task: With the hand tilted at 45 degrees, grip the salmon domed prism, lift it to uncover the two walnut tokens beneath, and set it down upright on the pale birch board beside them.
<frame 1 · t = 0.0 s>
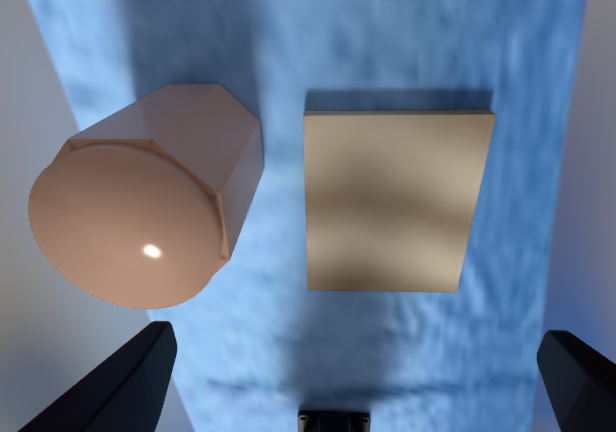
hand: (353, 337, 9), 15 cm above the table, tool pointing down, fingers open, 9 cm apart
salmon domed prism: (203, 145, 23), on the table
birch board: (386, 206, 24), on the table
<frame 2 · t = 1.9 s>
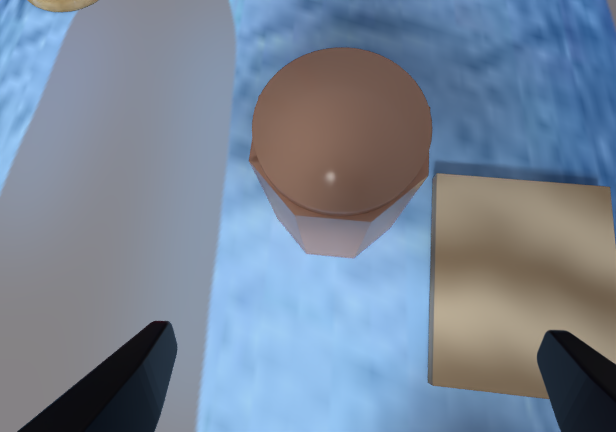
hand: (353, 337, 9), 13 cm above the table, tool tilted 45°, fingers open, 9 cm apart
salmon domed prism: (335, 201, 24), on the table
birch board: (517, 282, 23), on the table
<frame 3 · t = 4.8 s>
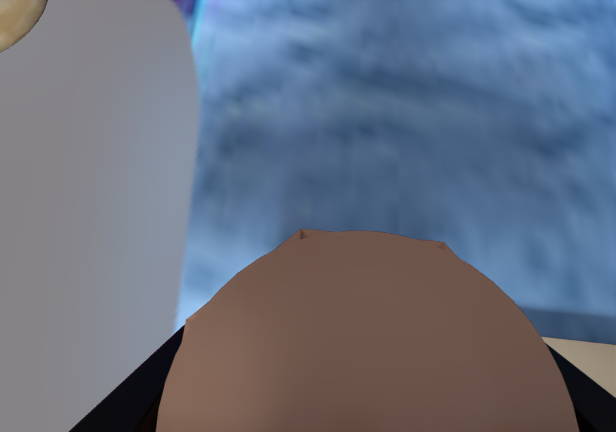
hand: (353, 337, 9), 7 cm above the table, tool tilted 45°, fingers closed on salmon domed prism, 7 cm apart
salmon domed prism: (341, 365, 16), on the table, touching gripper
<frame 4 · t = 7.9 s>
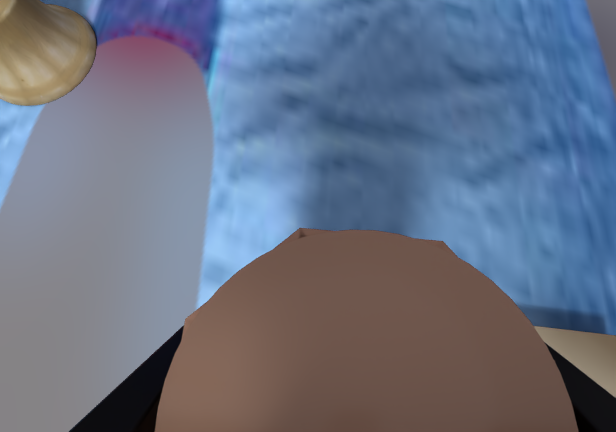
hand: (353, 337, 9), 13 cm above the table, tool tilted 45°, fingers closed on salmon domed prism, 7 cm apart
salmon domed prism: (341, 365, 16), point 6 cm above the table, touching gripper
hand bell: (43, 57, 28), on the table
when the fingers open (9 cm above the table, at t = 10.9 s): salmon domed prism drops 1 cm, resting on birch board.
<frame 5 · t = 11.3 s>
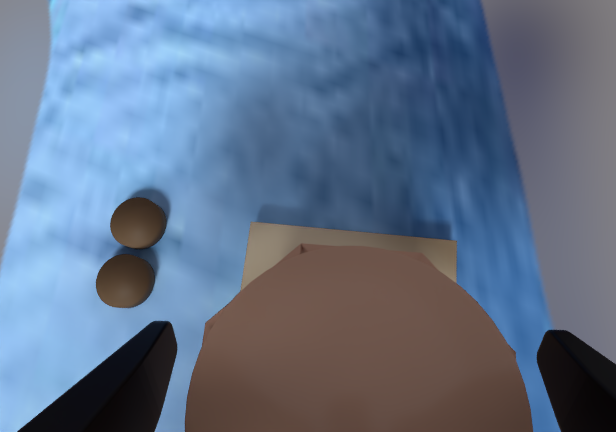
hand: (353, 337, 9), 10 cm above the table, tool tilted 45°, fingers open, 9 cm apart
salmon domed prism: (339, 361, 17), point 1 cm above the table, touching birch board
birch board: (340, 359, 18), on the table
walnut token B: (144, 226, 21), on the table
walnut token A: (131, 282, 20), on the table
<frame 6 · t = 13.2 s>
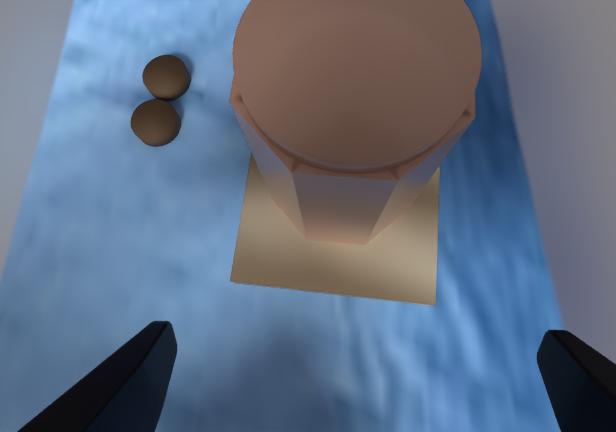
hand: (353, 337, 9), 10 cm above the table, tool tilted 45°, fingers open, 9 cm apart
salmon domed prism: (341, 177, 20), point 1 cm above the table, touching birch board
birch board: (341, 183, 21), on the table
walnut token B: (170, 83, 24), on the table
walnut token A: (160, 128, 23), on the table
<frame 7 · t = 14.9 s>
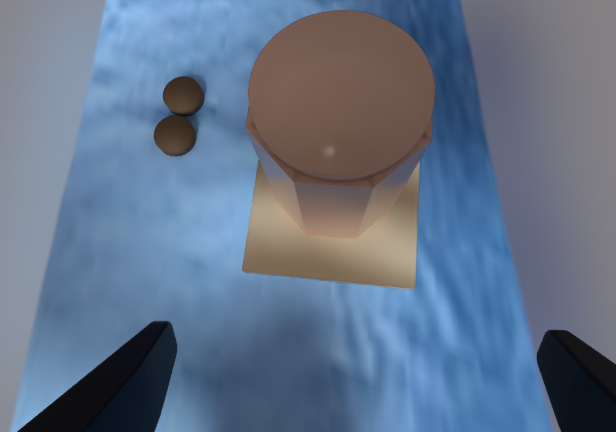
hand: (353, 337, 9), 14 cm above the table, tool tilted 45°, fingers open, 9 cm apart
salmon domed prism: (335, 181, 24), point 1 cm above the table, touching birch board
birch board: (335, 186, 25), on the table
walnut token B: (186, 101, 27), on the table
walnut token A: (178, 140, 26), on the table
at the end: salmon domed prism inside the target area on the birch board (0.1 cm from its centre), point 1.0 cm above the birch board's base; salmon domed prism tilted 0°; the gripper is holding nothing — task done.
